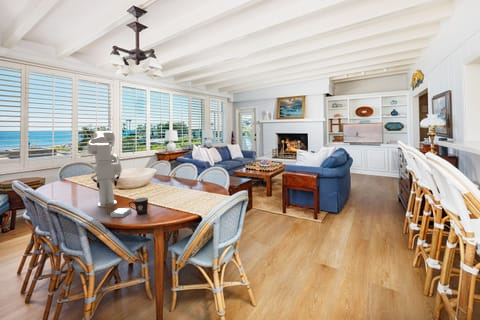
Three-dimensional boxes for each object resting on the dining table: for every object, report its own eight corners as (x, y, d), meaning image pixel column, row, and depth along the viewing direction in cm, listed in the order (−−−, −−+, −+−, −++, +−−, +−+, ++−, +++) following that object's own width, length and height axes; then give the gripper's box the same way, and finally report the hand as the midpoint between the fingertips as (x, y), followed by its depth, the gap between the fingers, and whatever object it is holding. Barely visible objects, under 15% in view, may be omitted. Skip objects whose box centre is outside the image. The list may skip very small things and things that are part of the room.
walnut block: (105, 212, 158) (104, 204, 157) (113, 210, 160) (112, 202, 160) (106, 214, 154) (105, 206, 153) (114, 212, 156) (113, 204, 155)
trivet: (110, 216, 149) (110, 213, 148) (118, 211, 158) (118, 208, 157) (123, 217, 148) (123, 213, 148) (131, 211, 157) (130, 208, 157)
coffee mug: (151, 211, 156) (150, 197, 155) (143, 216, 148) (142, 201, 147) (137, 210, 160) (136, 196, 158) (128, 215, 152) (127, 200, 150)
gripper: (118, 160, 160) (120, 184, 162) (89, 163, 150) (92, 188, 153) (119, 161, 154) (122, 186, 156) (89, 164, 144) (92, 190, 146)
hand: (107, 187), depth 154 cm, fingers open, 9 cm apart
